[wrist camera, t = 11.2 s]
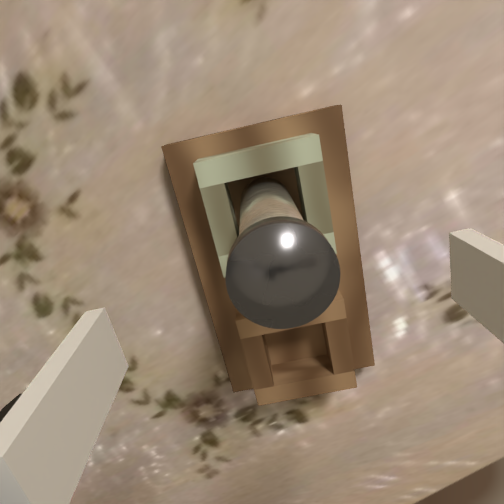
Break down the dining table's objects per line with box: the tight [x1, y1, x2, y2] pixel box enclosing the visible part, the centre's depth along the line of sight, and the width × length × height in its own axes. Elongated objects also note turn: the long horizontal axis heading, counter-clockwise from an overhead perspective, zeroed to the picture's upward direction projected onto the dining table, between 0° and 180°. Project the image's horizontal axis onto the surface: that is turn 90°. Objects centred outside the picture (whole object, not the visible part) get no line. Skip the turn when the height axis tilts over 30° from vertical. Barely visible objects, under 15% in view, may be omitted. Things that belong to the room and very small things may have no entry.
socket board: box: [162, 105, 375, 406], centre depth 32 cm, size 14×24×5 cm, turn 12°
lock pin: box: [225, 177, 340, 329], centre depth 23 cm, size 5×5×15 cm
